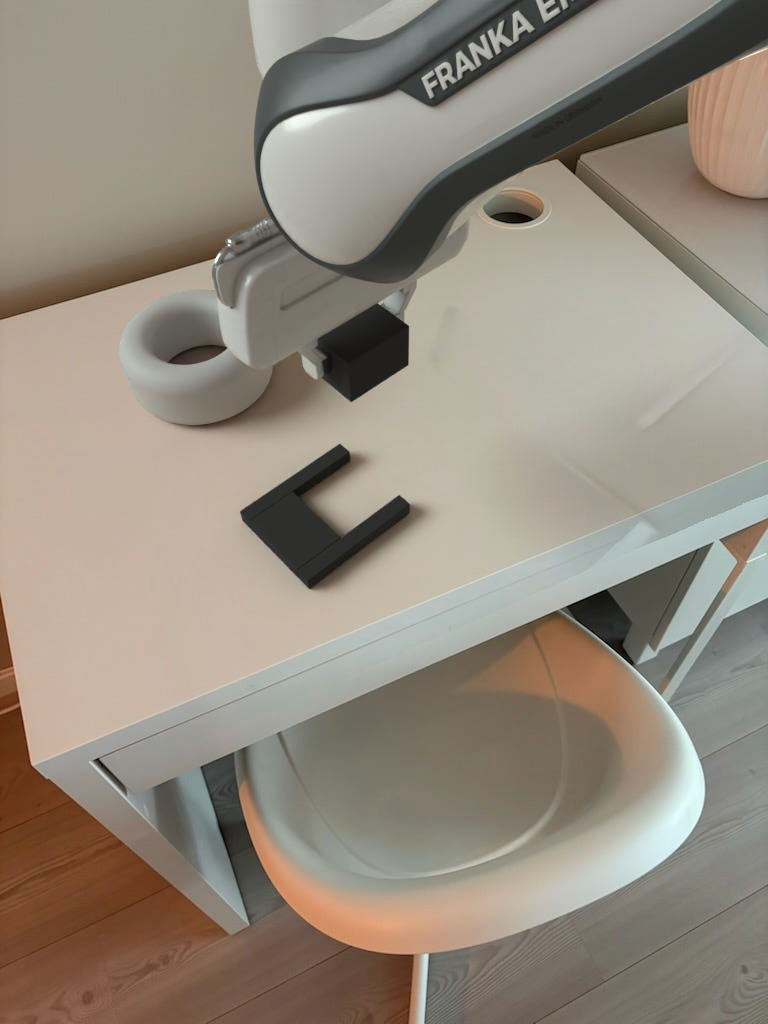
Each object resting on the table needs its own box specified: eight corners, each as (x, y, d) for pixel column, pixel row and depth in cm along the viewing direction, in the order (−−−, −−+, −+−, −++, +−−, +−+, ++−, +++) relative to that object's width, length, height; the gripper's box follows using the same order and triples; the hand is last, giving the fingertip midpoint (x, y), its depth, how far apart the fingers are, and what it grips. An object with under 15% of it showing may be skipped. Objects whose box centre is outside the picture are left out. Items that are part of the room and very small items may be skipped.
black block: (409, 365, 59) (409, 325, 56) (351, 403, 57) (348, 363, 54) (359, 328, 62) (357, 288, 59) (302, 362, 60) (296, 322, 56)
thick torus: (109, 415, 78) (87, 368, 72) (170, 321, 86) (154, 273, 81) (244, 442, 75) (231, 395, 70) (293, 343, 83) (286, 294, 78)
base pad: (410, 513, 70) (410, 503, 68) (309, 589, 65) (307, 581, 64) (341, 452, 74) (339, 443, 73) (242, 520, 70) (239, 511, 68)
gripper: (237, 275, 41) (272, 440, 53) (493, 140, 49) (475, 309, 60) (175, 226, 44) (221, 392, 55) (426, 106, 52) (421, 273, 63)
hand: (355, 348), depth 58 cm, fingers closed on black block, 6 cm apart
